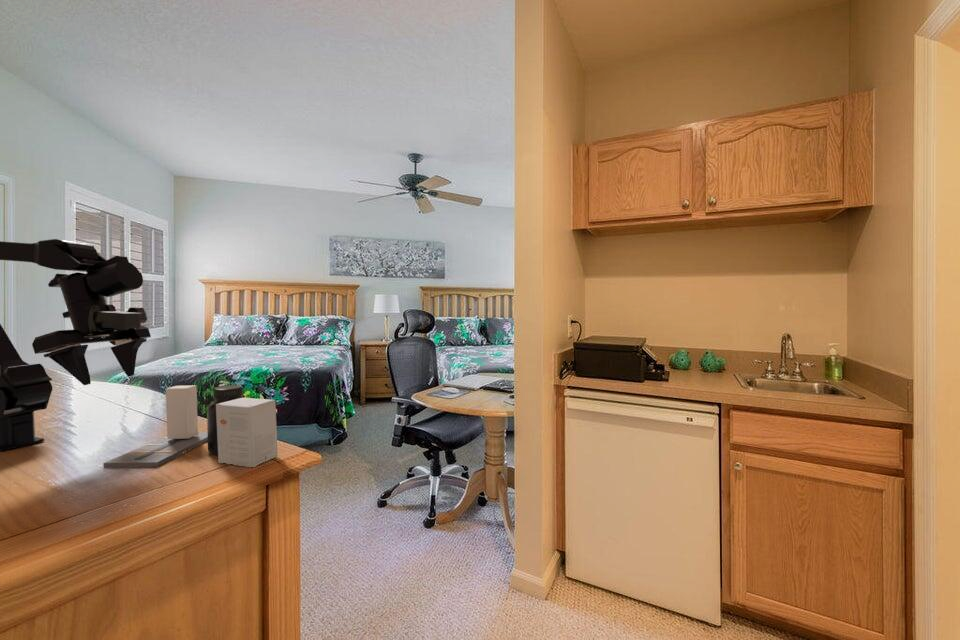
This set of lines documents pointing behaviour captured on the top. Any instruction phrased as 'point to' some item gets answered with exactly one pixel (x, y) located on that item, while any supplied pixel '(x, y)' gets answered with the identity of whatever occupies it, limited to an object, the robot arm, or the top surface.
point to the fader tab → (181, 412)
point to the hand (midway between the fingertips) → (110, 380)
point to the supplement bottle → (220, 396)
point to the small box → (246, 431)
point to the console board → (157, 452)
